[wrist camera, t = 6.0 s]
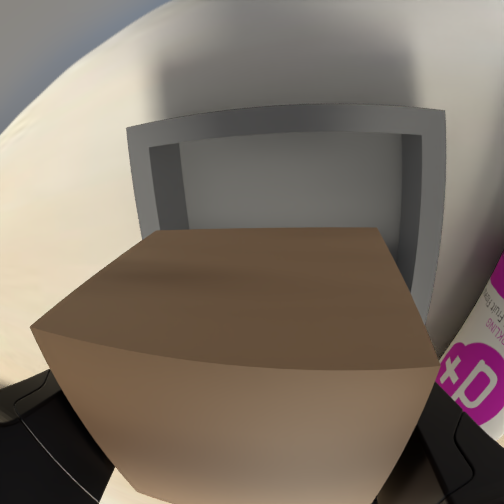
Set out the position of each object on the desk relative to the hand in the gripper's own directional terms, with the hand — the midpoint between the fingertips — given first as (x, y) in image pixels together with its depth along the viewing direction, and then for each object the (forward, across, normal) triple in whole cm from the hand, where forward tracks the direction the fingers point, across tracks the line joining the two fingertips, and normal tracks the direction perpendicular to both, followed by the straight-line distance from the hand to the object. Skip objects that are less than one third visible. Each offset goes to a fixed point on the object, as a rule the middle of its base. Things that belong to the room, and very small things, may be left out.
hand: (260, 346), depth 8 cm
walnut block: (+1, 0, 0) cm, 1 cm away
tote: (+11, 0, -1) cm, 11 cm away
